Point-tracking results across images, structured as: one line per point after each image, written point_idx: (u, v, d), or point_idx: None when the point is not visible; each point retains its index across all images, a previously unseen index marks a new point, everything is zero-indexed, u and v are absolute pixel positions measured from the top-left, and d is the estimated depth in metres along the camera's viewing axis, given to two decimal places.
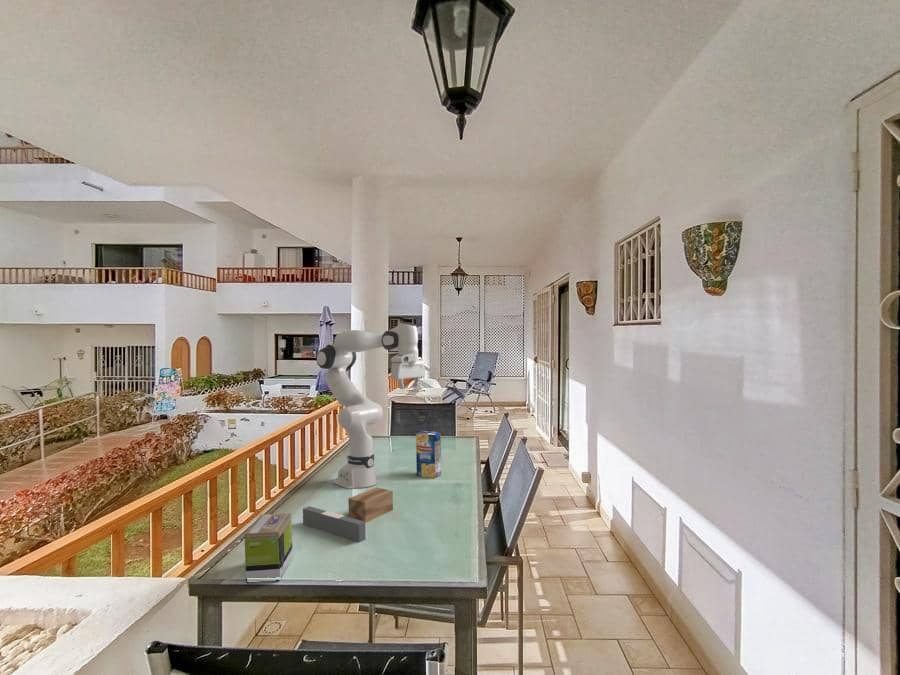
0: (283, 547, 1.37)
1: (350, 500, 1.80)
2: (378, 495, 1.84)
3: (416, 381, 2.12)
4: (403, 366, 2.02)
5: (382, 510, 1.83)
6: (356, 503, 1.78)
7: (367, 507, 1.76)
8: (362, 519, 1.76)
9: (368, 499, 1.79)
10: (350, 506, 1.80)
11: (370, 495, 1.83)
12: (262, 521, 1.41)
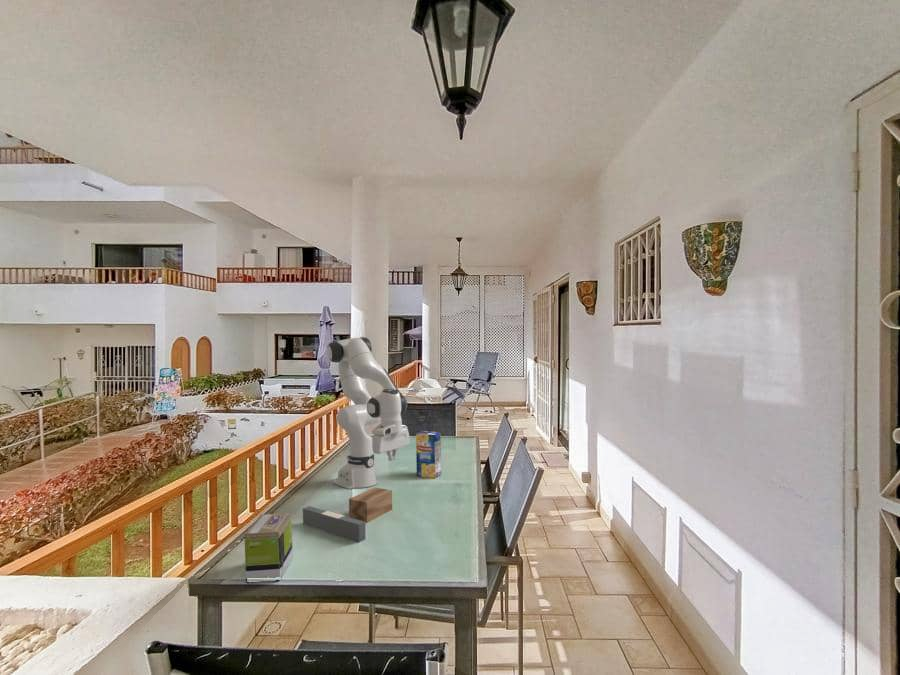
0: (283, 547, 1.37)
1: (351, 500, 1.79)
2: (378, 495, 1.84)
3: (394, 453, 1.96)
4: (385, 439, 1.90)
5: (382, 510, 1.84)
6: (357, 503, 1.78)
7: (369, 507, 1.77)
8: (364, 519, 1.76)
9: (369, 499, 1.79)
10: (350, 506, 1.79)
11: (370, 495, 1.83)
12: (262, 521, 1.41)
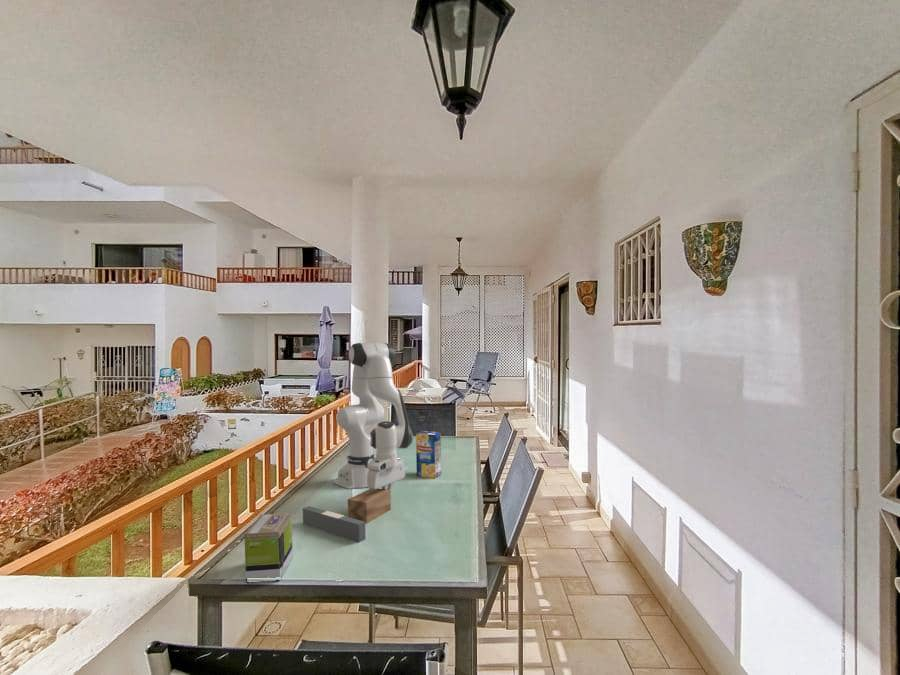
0: (283, 547, 1.37)
1: (350, 501, 1.78)
2: (377, 495, 1.83)
3: (389, 487, 1.93)
4: (380, 474, 1.87)
5: (381, 510, 1.83)
6: (356, 503, 1.77)
7: (368, 507, 1.76)
8: (363, 519, 1.75)
9: (368, 499, 1.78)
10: (349, 507, 1.79)
11: (369, 495, 1.83)
12: (262, 521, 1.41)
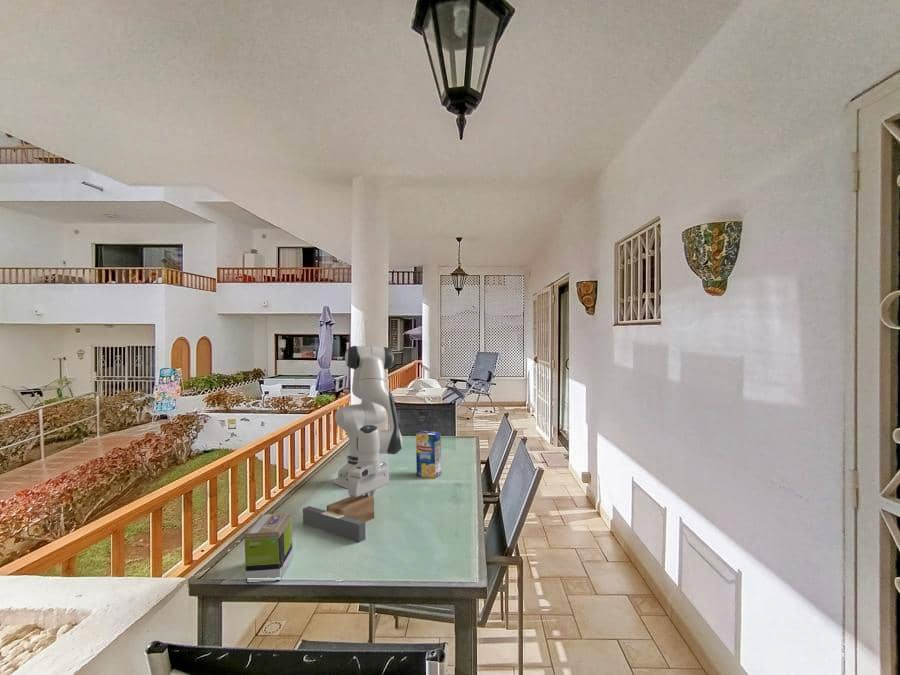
0: (283, 547, 1.37)
1: (328, 507, 1.72)
2: (358, 502, 1.75)
3: (371, 494, 1.84)
4: (362, 480, 1.78)
5: (362, 518, 1.75)
6: (334, 510, 1.70)
7: (346, 515, 1.68)
8: None
9: (347, 506, 1.70)
10: None
11: (350, 502, 1.75)
12: (262, 521, 1.41)
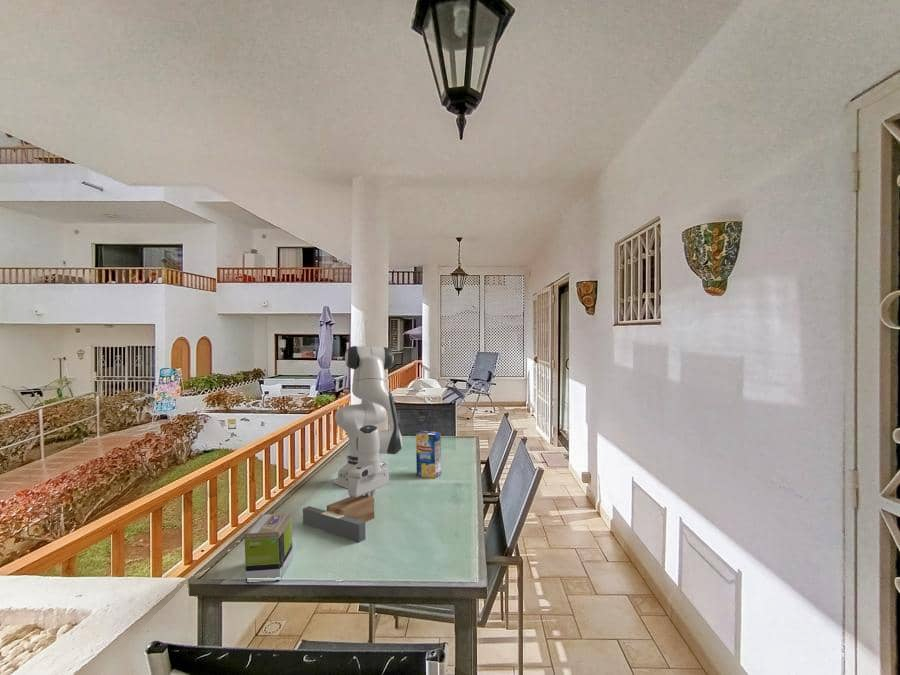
0: (283, 547, 1.37)
1: (328, 507, 1.72)
2: (358, 502, 1.75)
3: (371, 494, 1.84)
4: (362, 481, 1.78)
5: (362, 518, 1.75)
6: (334, 510, 1.70)
7: (346, 515, 1.68)
8: None
9: (347, 507, 1.70)
10: None
11: (350, 502, 1.75)
12: (262, 521, 1.41)
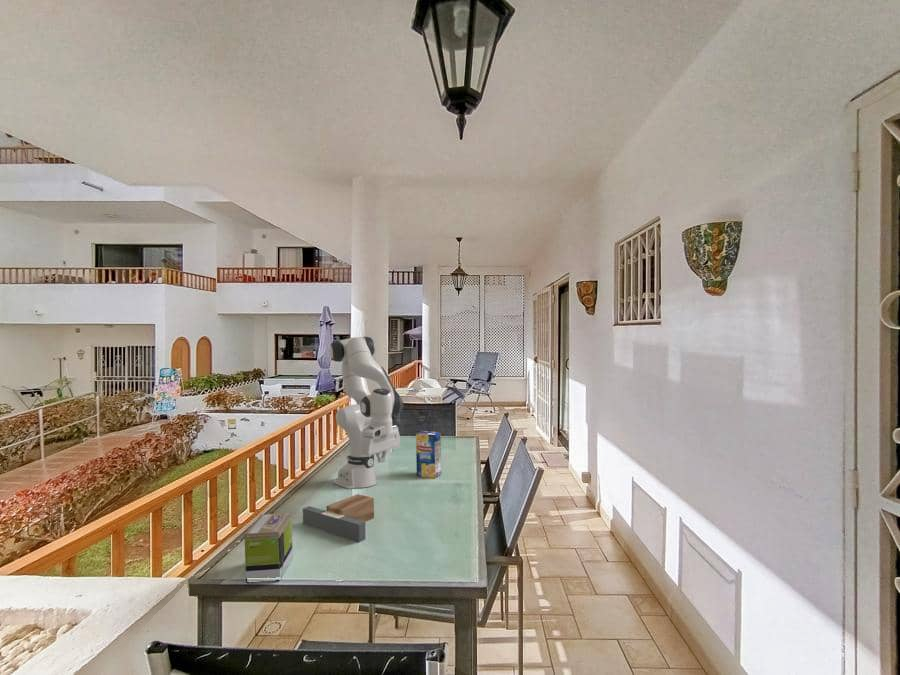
0: (283, 547, 1.37)
1: (328, 508, 1.72)
2: (358, 502, 1.75)
3: (383, 454, 1.92)
4: (374, 440, 1.85)
5: (362, 518, 1.75)
6: (334, 511, 1.70)
7: None
8: None
9: (347, 507, 1.71)
10: None
11: (349, 503, 1.75)
12: (262, 521, 1.41)
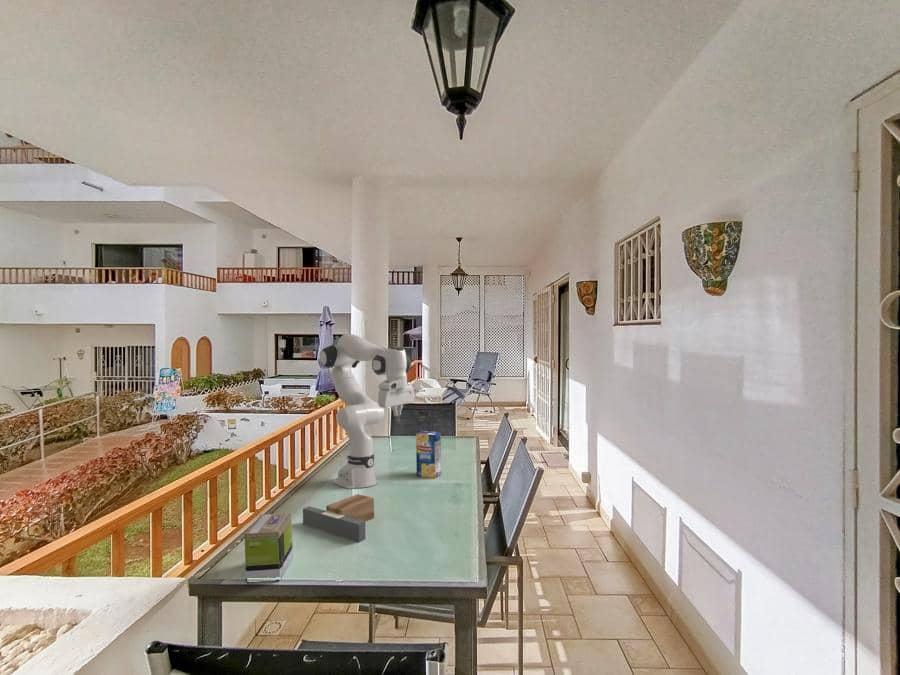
0: (283, 547, 1.37)
1: (328, 508, 1.72)
2: (358, 502, 1.75)
3: (399, 409, 2.00)
4: (391, 393, 1.93)
5: (362, 518, 1.75)
6: (333, 510, 1.70)
7: None
8: None
9: (346, 507, 1.71)
10: None
11: (349, 503, 1.75)
12: (262, 521, 1.41)
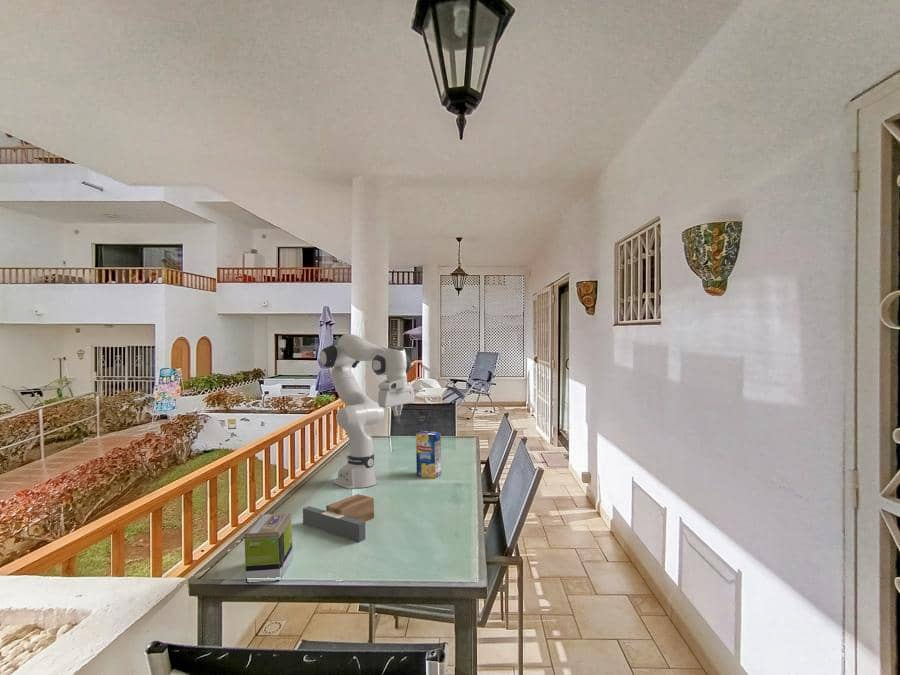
0: (283, 547, 1.37)
1: (328, 508, 1.72)
2: (357, 502, 1.75)
3: (399, 409, 2.00)
4: (391, 393, 1.93)
5: (362, 518, 1.75)
6: (333, 510, 1.70)
7: None
8: None
9: (346, 507, 1.71)
10: None
11: (349, 503, 1.75)
12: (262, 521, 1.41)
